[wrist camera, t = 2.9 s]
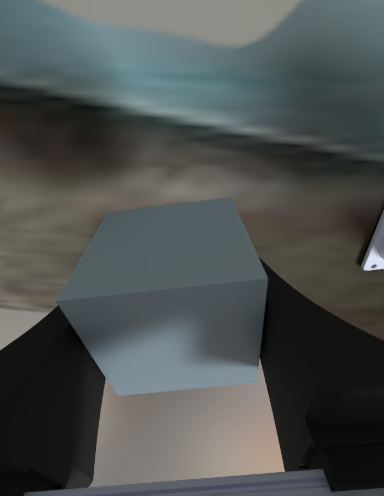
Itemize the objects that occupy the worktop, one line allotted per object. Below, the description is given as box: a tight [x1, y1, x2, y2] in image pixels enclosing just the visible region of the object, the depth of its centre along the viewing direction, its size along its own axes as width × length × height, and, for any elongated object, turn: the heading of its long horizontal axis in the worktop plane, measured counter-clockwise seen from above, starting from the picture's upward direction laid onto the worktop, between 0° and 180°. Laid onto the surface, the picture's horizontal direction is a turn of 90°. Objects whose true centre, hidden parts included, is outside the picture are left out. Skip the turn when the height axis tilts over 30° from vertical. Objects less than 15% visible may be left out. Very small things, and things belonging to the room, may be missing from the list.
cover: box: [56, 198, 268, 396], centre depth 10 cm, size 6×6×6 cm
